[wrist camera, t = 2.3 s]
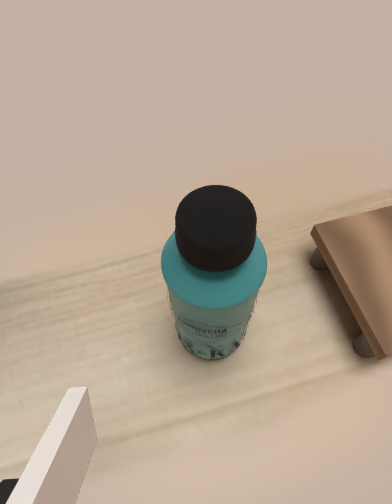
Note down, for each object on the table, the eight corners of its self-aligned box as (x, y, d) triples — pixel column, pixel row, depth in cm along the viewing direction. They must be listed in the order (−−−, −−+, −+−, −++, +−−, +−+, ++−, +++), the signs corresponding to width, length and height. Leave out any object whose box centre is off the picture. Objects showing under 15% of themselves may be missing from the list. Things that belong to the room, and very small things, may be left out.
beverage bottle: (178, 302, 34) (146, 163, 17) (241, 300, 34) (275, 157, 16) (178, 366, 31) (137, 278, 13) (248, 364, 31) (298, 272, 13)
